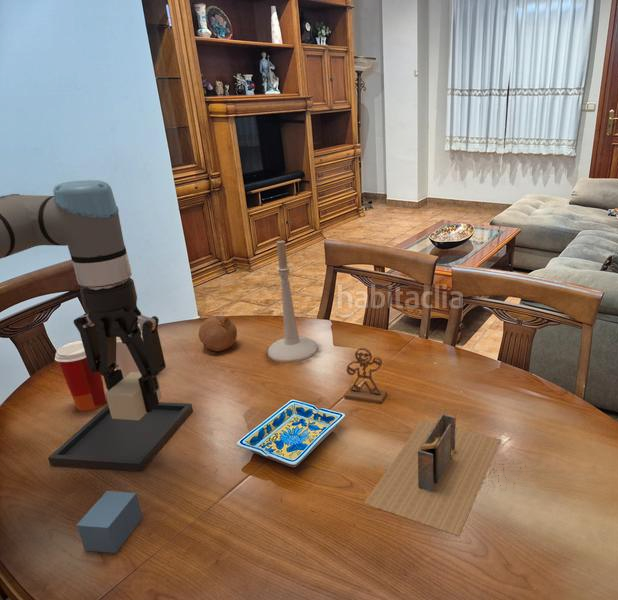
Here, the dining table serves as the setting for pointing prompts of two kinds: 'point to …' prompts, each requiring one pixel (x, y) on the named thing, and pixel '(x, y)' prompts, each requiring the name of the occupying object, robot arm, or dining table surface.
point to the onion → (217, 333)
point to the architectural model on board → (436, 475)
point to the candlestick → (289, 321)
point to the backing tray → (121, 439)
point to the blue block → (110, 521)
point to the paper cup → (80, 377)
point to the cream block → (128, 398)
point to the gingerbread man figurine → (365, 393)
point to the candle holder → (125, 358)
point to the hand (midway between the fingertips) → (137, 406)
